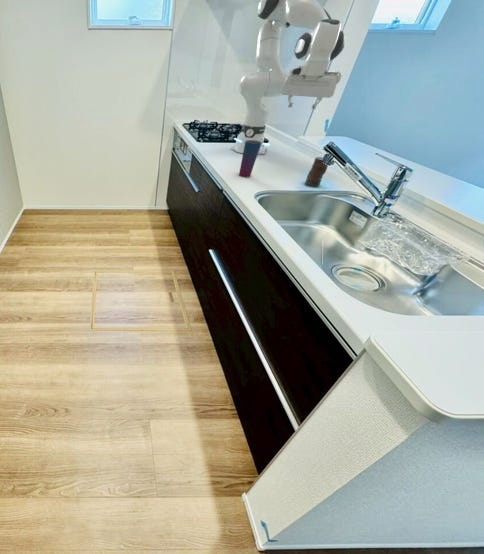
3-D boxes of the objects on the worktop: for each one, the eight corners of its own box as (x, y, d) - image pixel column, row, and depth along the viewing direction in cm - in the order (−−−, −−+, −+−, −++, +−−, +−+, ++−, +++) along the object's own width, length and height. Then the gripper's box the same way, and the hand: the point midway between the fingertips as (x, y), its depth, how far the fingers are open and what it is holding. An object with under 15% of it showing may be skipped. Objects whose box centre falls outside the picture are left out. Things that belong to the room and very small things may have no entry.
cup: (253, 178, 138) (263, 143, 129) (238, 177, 139) (246, 143, 130) (250, 173, 143) (260, 140, 134) (236, 172, 145) (244, 139, 135)
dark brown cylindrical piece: (305, 181, 135) (313, 162, 129) (320, 184, 132) (328, 165, 127) (303, 185, 131) (310, 165, 126) (318, 188, 128) (326, 168, 123)
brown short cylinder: (313, 162, 129) (316, 156, 127) (327, 165, 127) (330, 158, 125) (312, 165, 126) (314, 159, 124) (325, 168, 123) (328, 161, 122)
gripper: (344, 70, 120) (329, 109, 129) (289, 69, 130) (278, 105, 138) (342, 71, 116) (327, 111, 125) (286, 69, 126) (275, 107, 134)
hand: (301, 108), depth 131 cm, fingers open, 8 cm apart
